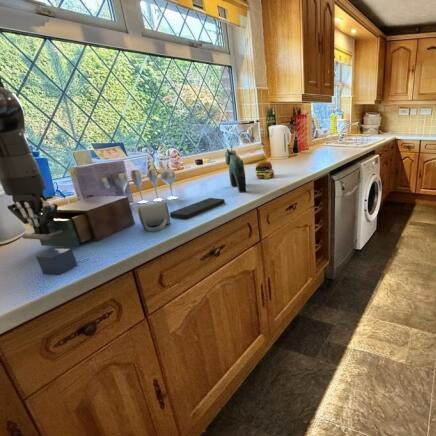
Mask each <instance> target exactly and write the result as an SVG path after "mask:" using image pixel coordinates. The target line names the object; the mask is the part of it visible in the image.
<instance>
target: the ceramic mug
mask: <svg viewBox="0 0 436 436" xmlns="http://www.w3.org/2000/svg"><path fill="white" fill-rule="evenodd" d="M137 208H138V209H137V213H138V218H139V221H140V225H142V226H143V227H144V228H145V229H146V230H147V231H148V232H158V231H161V230H163V229H164V228H165V227H166V225H168V224H171V222H172V221H171V216H170V212H169V208H168V204H167V202H166V200H161V201H154V202H150V203H146V204H145V203H144V204H143V205H139V207H137Z"/></svg>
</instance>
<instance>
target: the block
mask: <svg viewBox="0 0 436 436" xmlns="http://www.w3.org/2000/svg"><path fill="white" fill-rule="evenodd" d="M35 258H36V260H37V262H38V265H39V267H40V270H41V272H42V274H43V275H52V276H60V275H62V274H64V273H66V272H68V271H70V270H72V269H74V268H75V267H78V262H77V260H76V256H75V254H74V252H73V248H68V247H54V248H52V249H50V250H47V251H45V252H43V253H40V254H38V255H36V256H35Z"/></svg>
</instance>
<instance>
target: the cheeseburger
mask: <svg viewBox="0 0 436 436" xmlns="http://www.w3.org/2000/svg"><path fill="white" fill-rule="evenodd" d="M255 176H256V177H257V179H266V180H269V179H271V178H272V177H274V176H275V170H274V169H273V165H272V163H271V162H270V161H267V160H261V161H258V162H257V163H256V165H255Z"/></svg>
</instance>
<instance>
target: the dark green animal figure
mask: <svg viewBox="0 0 436 436" xmlns="http://www.w3.org/2000/svg"><path fill="white" fill-rule="evenodd" d="M224 157H225V164H226V165H227V166H228V175H229V181H230V182H229V183H230V186H231V187H237V190H238V192H239V193H245V192H247V183H246V179H247V178H246V171H245V165H244V161H243V159H241V157H240V156H239V155H238V154H237V152H236V151H235V150H233V145H232V144H230V150H229V149H228V148H226V151H225V152H224Z"/></svg>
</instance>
